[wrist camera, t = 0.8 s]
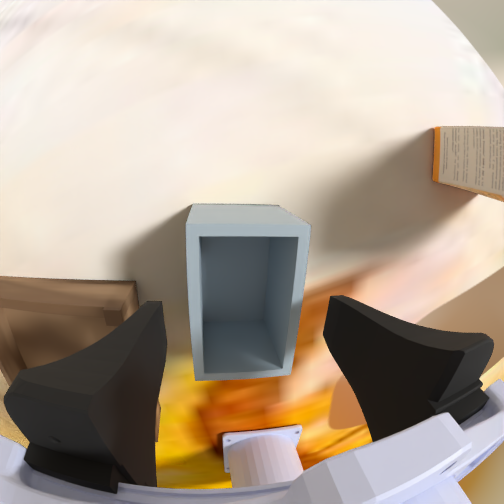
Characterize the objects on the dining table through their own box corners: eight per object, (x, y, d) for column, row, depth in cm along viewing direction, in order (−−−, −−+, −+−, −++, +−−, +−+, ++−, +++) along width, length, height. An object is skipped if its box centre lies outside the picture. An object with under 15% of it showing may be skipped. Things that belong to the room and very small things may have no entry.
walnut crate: (160, 408, 20) (157, 442, 16) (38, 390, 18) (25, 415, 14) (135, 280, 16) (119, 310, 13) (-6, 275, 14) (-33, 295, 10)
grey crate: (268, 321, 19) (290, 374, 13) (196, 324, 18) (195, 380, 13) (277, 205, 16) (311, 225, 11) (192, 203, 15) (185, 223, 10)
